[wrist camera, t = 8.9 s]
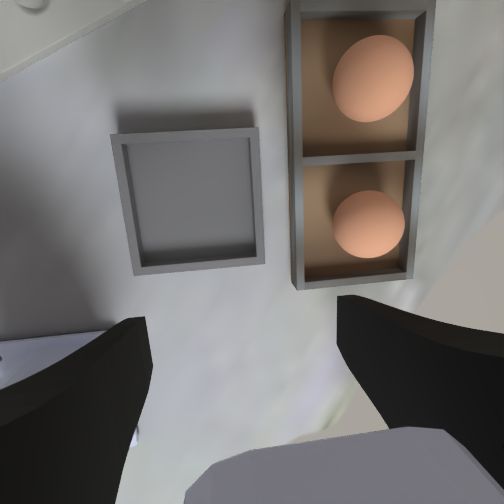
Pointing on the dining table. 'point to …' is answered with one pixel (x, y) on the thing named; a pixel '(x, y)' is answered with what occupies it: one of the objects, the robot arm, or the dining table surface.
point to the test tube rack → (49, 27)
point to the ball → (373, 78)
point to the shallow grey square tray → (191, 199)
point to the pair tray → (351, 136)
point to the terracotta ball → (368, 224)
